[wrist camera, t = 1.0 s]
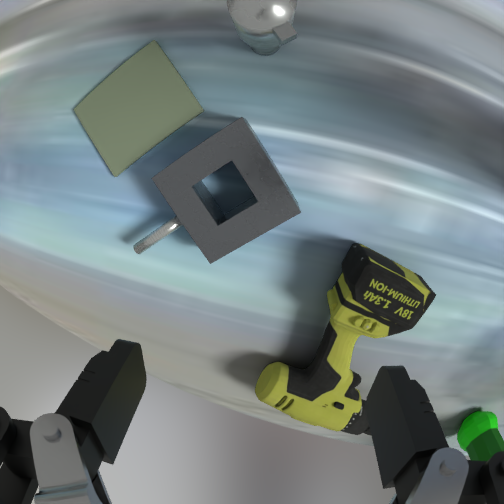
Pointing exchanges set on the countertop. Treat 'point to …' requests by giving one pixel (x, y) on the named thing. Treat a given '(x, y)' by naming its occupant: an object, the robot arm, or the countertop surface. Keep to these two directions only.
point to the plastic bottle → (480, 436)
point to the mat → (137, 108)
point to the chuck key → (264, 23)
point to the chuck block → (204, 206)
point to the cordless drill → (347, 342)
